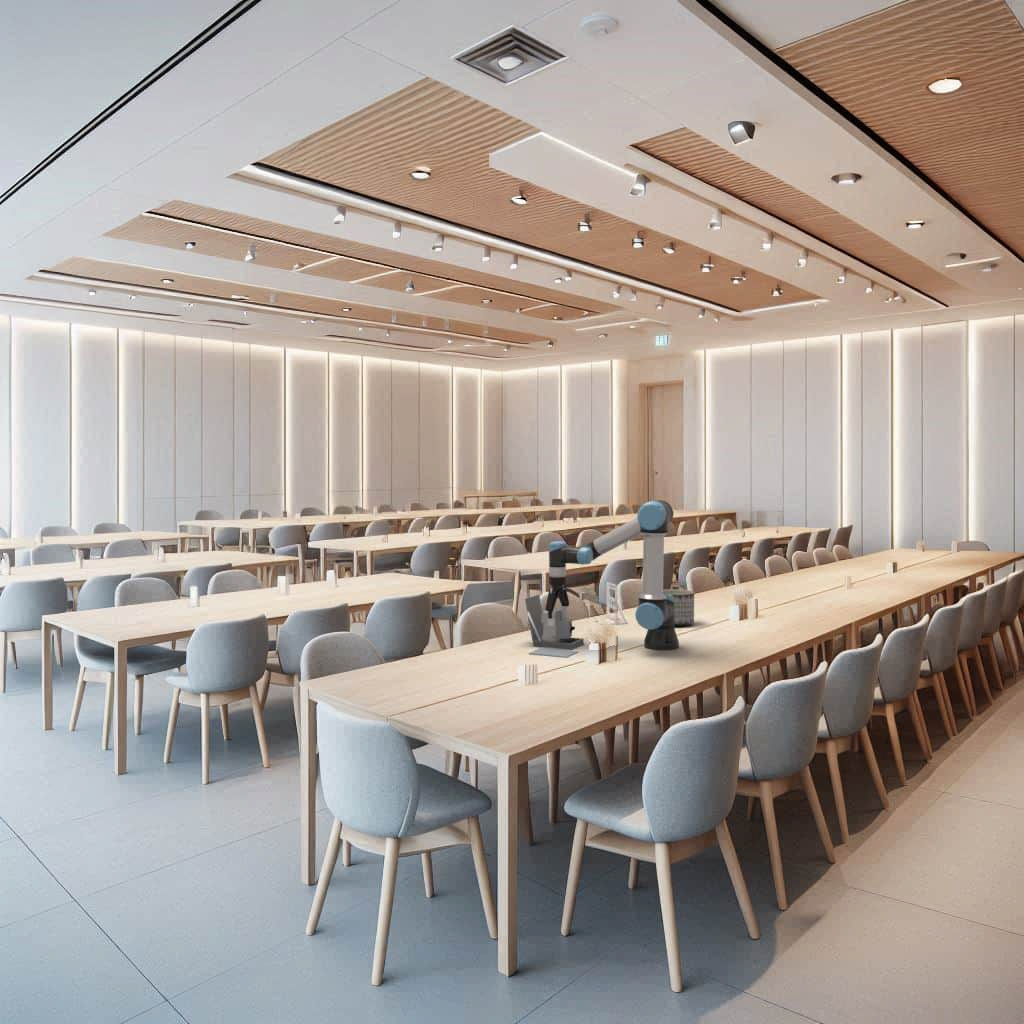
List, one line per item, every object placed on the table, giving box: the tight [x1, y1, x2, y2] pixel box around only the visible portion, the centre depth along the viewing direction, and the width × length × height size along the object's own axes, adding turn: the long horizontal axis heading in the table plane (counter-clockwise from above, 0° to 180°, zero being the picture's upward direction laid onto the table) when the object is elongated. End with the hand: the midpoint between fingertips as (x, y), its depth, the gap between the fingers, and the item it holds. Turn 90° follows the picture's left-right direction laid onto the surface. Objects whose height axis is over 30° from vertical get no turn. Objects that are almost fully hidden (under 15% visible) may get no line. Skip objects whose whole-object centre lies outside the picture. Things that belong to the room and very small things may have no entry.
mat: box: [528, 647, 579, 659], centre depth 366 cm, size 18×12×1 cm, turn 62°
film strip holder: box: [605, 581, 629, 626], centre depth 437 cm, size 14×14×20 cm
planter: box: [663, 588, 695, 628], centre depth 427 cm, size 19×19×16 cm
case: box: [524, 594, 585, 651], centre depth 383 cm, size 23×14×21 cm, turn 62°
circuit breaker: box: [541, 610, 576, 643], centre depth 383 cm, size 8×14×15 cm, turn 77°
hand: (557, 623), depth 382 cm, fingers open, 13 cm apart
